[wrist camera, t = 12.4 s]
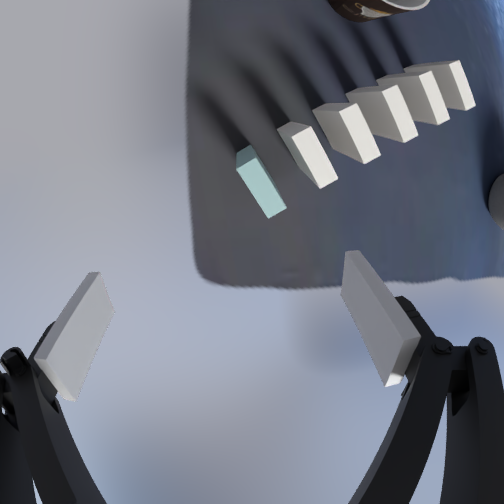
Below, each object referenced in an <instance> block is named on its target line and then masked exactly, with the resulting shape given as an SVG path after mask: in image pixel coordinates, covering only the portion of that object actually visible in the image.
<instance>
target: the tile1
mask: <svg viewBox="0 0 504 504" xmlns="http://www.w3.org/2000/svg"><path fill="white" fill-rule="evenodd" d="M277 131H278V133H279V134H280V136H281V138H282V139H283V141H284V143H285V144H286V146H287V148H288V149H289V151H290V153H291V155H292V156H293V158H294V160H295V162H296V163H297V165H298V167H299V168H300V169H301V170H302V171H303V172H304V173H305V174H306V175H307V176H308V177H309V178H310V179H311V180H312V181H313V182H314V183H315V184H316V185H317V186H318V187H319V188H320V189H321V188H322V187H324V186H326V185H328V184H330V183H331V182H333V181H335V180H337V179H338V177H337V175H336V173H335V171H334V169H333V167H332V165H331V163H330V161H329V159H328V157H327V155H326V153H325V151H324V150H323V148H322V146H321V144H320V142H319V140H318V138H317V136H316V135H315V133H314V131H313V129H312V127H311V126H308V125H304V124H299V123H295V122H289V123H287V124H285V125H283V126H281V127H280V128H278V129H277Z"/></svg>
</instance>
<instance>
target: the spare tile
mask: <svg viewBox="0 0 504 504" xmlns="http://www.w3.org/2000/svg"><path fill="white" fill-rule="evenodd" d="M236 170H237V171H238V173H239V174H240V176H241V177H242V179H243V180H244V182H245V183H246V185H247V186H248V188H249V189H250V191H251V193H252V194H253V196H254V197H255V199H256V200H257V202H258V203H259V205H260V206H261V208H262V210H263V211H264V213H265V214H266V216H267V217H268V218H270V217H272V216H274V215H275V214H277V213H279V212H281V211H282V210H284V209H286V205H285V203H284V201H283V199H282V197H281V195H280V193H279V191H278V189H277V187H276V185H275V183H274V181H273V179H272V178H271V176H270V174H269V173H268V171H267V169H266V168H265V166H264V165H263V163H262V161H261V160H260V158H259V157H258V155H257V153H256V152H255V150H254V149H253V147H252V146H251V145H249V146H247V147H246V148H244V149H242V150H241V151H239V152H237V158H236Z"/></svg>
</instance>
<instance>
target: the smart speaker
mask: <svg viewBox="0 0 504 504" xmlns="http://www.w3.org/2000/svg"><path fill="white" fill-rule="evenodd" d="M488 203H489V211H490V214H491V216H492V218H493V220H494V221H495V222H496V224H497V225H498V226H499V227H500V228H502V229H503V230H504V174H502V175H500V176H499V177H498V178H497V179H496V180H495V181H494V183H493V185H492V187H491V190H490V194H489V202H488Z"/></svg>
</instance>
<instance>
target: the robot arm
mask: <svg viewBox="0 0 504 504" xmlns="http://www.w3.org/2000/svg"><path fill="white" fill-rule="evenodd" d="M341 296H342V298H343V300H344V302H345V304H346V306H347V308H348V310H349V312H350V314H351V316H352V318H353V320H354V322H355V324H356V326H357V328H358V330H359V332H360V334H361V336H362V338H363V341H364V343H365V345H366V347H367V349H368V351H369V353H370V355H371V358H372V360H373V362H374V364H375V366H376V368H377V370H378V373H379V375H380V377H381V379H382V382H383V384H384V386H385V387H387V386H391V385H395V384H398V383H401V381H402V379H403V377H404V375H406V377H407V379H408V383H407V385H406V387H405V389H404V391H403V392H402V394H401V396H402V398H401V401H400V403H399V406H398V408H397V411H396V413H395V415H394V418H393V420H392V422H391V425H390V427H389V429H388V431H387V434H386V436H385V438H384V440H383V442H382V444H381V446H380V448H379V450H378V452H377V454H376V456H375V458H374V460H373V462H372V464H371V466H370V468H369V469H368V471H367V473H366V475H365V477H364V478H363V480H362V482H361V484H360V485H359V487H358V489H357V490H356V492H355V494H354V495H353V497H352V499H351V500H350V502H349V503H348V504H409V502H410V500H411V498H412V496H413V493H414V491H415V489H416V487H417V484H418V482H419V480H420V477H421V475H422V472H423V470H424V467H425V464H426V462H427V460H428V457H429V454H430V451H431V448H432V445H433V442H434V439H435V436H436V433H437V429H438V426H439V423H440V419H441V416H442V412H443V408H444V404H445V400H446V396H447V440H446V456H445V467H444V477H443V485H442V492H441V498H440V504H504V389H503V384H502V379H501V374H500V370H499V365H498V361H497V356H496V353H495V349H494V347H493V344H492V343H491V342H490V341H489V340H487V339H485V338H483V337H475V338H473V339H472V340H471V341H470V343H469V345H468V346H453V345H452V343H451V342H449V341H448V340H446V339H445V338H442V337H436V336H435V334H434V333H433V331H432V330H431V329H430V327H429V326H428V325H427V323H426V322H425V320H424V319H423V318H422V317H421V315H420V313H419V312H418V311H416V308H415V307H414V305H413V304H412V303H411V302H410V301H409V300H408V299H406V298H405V297H403V296H399V297H394V296H393V295H392V293H391V292H390V291H389V289H388V288H387V287H386V285H385V284H384V282H383V281H382V280H381V278H380V277H379V276H378V274H377V273H376V272H375V270H374V269H373V268H372V266H371V265H370V264H369V263H368V261H367V260H366V259H365V257H364V256H363V255H362V254H361V252H360V251H359V250H357V251H346V252H345V263H344V272H343V281H342V290H341ZM114 313H115V311H114V308H113V305H112V303H111V300H110V298H109V295H108V292H107V290H106V287H105V284H104V281H103V278H102V276H101V273H100V272H92V273H89V274H88V275H87V276H86V278H85V279H84V280H83V282H82V283H81V285H80V286H79V288H78V289H77V290H76V292H75V293H74V295H73V296H72V298H71V299H70V300H69V302H68V303H67V305H66V306H65V308H64V309H63V311H62V312H61V314H60V315H59V317H58V318H57V320H56V321H54V322H53V323H52V324H50V325H49V326H48V327H47V329H46V330H45V332H44V333H43V336H42V337H41V338H40V340H39V342H38V343H37V345H36V346H35V348H34V350H33V351H32V353H31V355H30V356H29V358H28V360H27V358H26V357H25V356H24V354H23V352H22V351H21V349H20V348H18V347H13V348H10V349H9V350H7V351H6V352H5V353H4V354H3V355H2V357H1V359H0V363H1V365H2V366H3V368H4V369H5V371H6V372H7V373H1V371H0V504H37V503H36V498H35V492H34V486H33V480H34V483H35V486H36V488H37V491H38V493H39V496H40V498H41V501H42V503H43V504H106V502H105V500H104V498H103V497H102V495H101V493H100V491H99V490H98V488H97V486H96V485H95V483H94V481H93V479H92V477H91V475H90V473H89V471H88V470H87V468H86V466H85V464H84V462H83V459H82V457H81V455H80V453H79V451H78V449H77V447H76V445H75V442H74V440H73V438H72V435H71V433H70V430H69V428H68V425H67V423H66V420H65V418H64V415H63V412H62V410H61V407H60V404H59V401H58V400H57V398H56V397H55V396H56V394H57V392H58V393H59V394H60V395H61V396H62V398H63V399H65V400H70V401H77V399H78V396H79V394H80V391H81V388H82V386H83V383H84V381H85V378H86V376H87V373H88V371H89V368H90V366H91V364H92V361H93V359H94V357H95V354H96V352H97V350H98V347H99V345H100V343H101V340H102V338H103V336H104V334H105V332H106V330H107V328H108V325H109V323H110V321H111V319H112V317H113V315H114ZM2 407H3V408H4V409H5V415H4V414H3V413H2ZM32 477H33V479H32Z"/></svg>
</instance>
